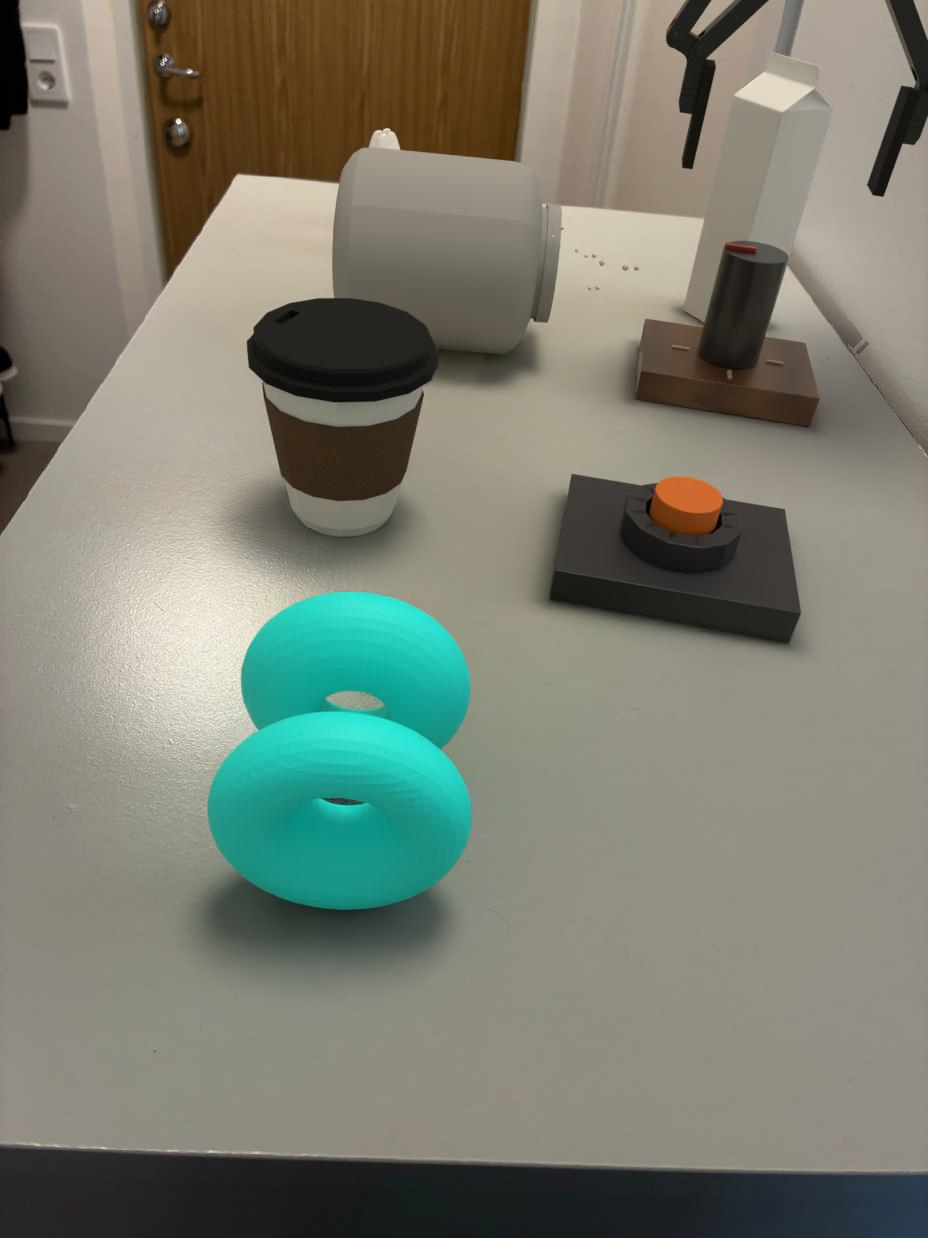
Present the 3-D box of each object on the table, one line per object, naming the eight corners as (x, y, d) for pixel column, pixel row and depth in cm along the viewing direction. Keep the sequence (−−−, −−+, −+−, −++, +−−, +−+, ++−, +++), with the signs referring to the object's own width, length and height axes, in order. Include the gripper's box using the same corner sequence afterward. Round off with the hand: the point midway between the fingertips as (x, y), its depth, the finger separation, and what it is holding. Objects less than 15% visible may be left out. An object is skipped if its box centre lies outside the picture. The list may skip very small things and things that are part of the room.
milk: (722, 335, 89) (794, 67, 74) (681, 310, 93) (741, 50, 78) (770, 326, 91) (848, 65, 77) (728, 302, 95) (794, 50, 81)
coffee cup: (222, 529, 58) (204, 344, 51) (309, 450, 66) (305, 280, 59) (383, 580, 56) (390, 393, 48) (453, 492, 64) (469, 319, 56)
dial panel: (797, 369, 84) (806, 340, 82) (809, 426, 76) (820, 396, 74) (639, 344, 85) (645, 316, 83) (635, 399, 77) (641, 368, 75)
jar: (376, 223, 90) (645, 223, 85) (362, 378, 89) (632, 386, 84) (307, 108, 71) (647, 99, 66) (290, 302, 71) (630, 307, 66)
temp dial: (756, 347, 80) (787, 242, 75) (759, 372, 77) (793, 263, 71) (697, 338, 81) (723, 232, 75) (697, 362, 77) (726, 253, 71)
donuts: (212, 918, 38) (186, 750, 32) (254, 734, 46) (240, 569, 39) (460, 929, 39) (484, 766, 32) (460, 746, 46) (480, 585, 40)
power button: (714, 506, 58) (722, 481, 57) (716, 542, 55) (724, 517, 54) (650, 495, 59) (656, 471, 58) (648, 531, 56) (654, 505, 55)
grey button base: (775, 536, 63) (793, 485, 60) (789, 642, 55) (811, 587, 52) (566, 501, 64) (575, 449, 62) (548, 599, 56) (559, 544, 53)
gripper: (678, -238, 53) (607, 165, 67) (1135, -186, 52) (967, 217, 65) (678, -230, 59) (612, 140, 73) (1089, -182, 57) (943, 187, 71)
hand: (780, 177), depth 69 cm, fingers open, 13 cm apart
